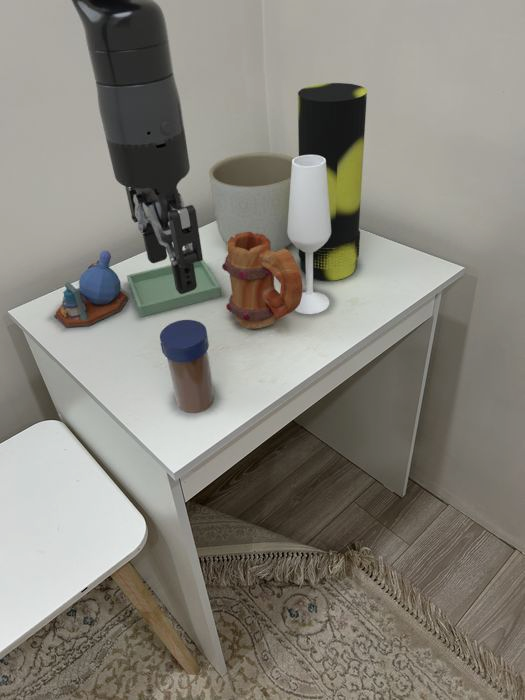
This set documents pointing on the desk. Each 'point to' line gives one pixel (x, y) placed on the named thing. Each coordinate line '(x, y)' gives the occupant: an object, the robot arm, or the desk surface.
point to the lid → (184, 341)
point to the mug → (261, 280)
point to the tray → (170, 289)
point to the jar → (192, 384)
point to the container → (336, 168)
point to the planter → (253, 196)
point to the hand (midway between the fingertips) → (172, 274)
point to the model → (92, 296)
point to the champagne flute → (309, 220)
